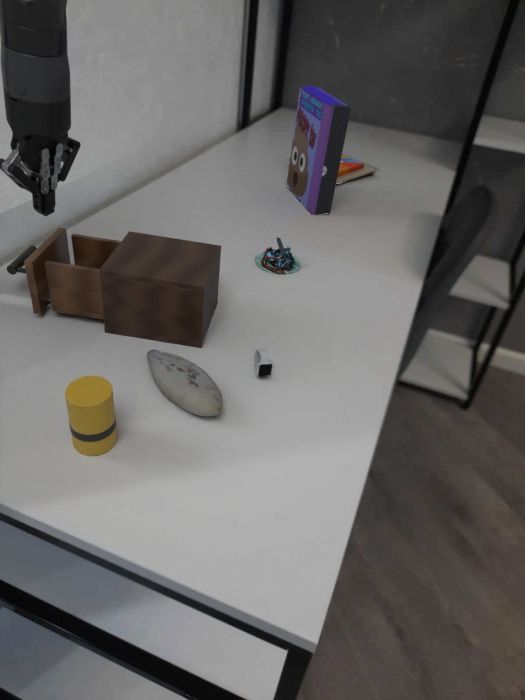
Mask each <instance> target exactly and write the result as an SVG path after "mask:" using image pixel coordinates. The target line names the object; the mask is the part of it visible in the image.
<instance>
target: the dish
mask: <svg viewBox="0 0 525 700" xmlns="http://www.w3.org/2000/svg"><path fill="white" fill-rule="evenodd" d="M276 243H277V246H278V248H275V249H274V248H273V247H272V246H270V247H267V248H265V250H264V251H263V252H260V253H259V254H257V255H256V257H255V258H254V263H255V265H256V266H257V267H258V268H259V269H261V270H263V271H265V272H268V273H271V274H275V275H279V274H283V275H287V274H290V273H291V274H292V273H295V272H297V271H298V270H299V269H300V268H301V261H300V259H299V258H298V257H297V256H295V255H293V253H292V252H291V249H292V248H291V246H289V245H286V247H284V244H283V242H282V240H281V237H278V236H277V237H276Z"/></svg>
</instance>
